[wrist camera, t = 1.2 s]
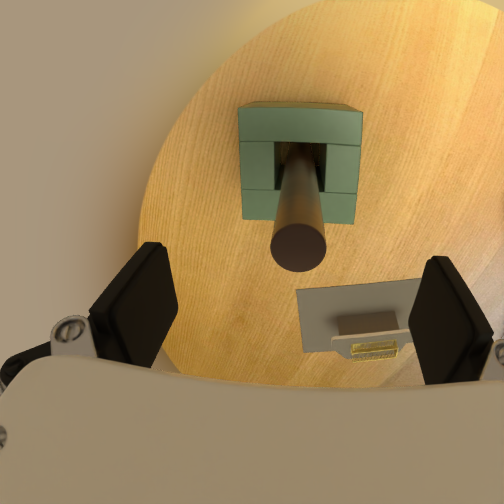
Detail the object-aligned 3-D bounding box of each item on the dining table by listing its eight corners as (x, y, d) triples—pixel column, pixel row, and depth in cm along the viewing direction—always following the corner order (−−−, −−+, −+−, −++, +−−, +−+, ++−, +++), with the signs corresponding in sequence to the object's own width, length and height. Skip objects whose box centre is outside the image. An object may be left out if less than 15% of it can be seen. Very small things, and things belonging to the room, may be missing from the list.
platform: (420, 341, 40) (429, 374, 34) (303, 352, 44) (301, 388, 38) (433, 276, 34) (450, 310, 28) (296, 289, 38) (293, 327, 32)
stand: (253, 101, 27) (237, 107, 20) (346, 104, 26) (363, 111, 19) (255, 187, 32) (242, 219, 25) (342, 191, 30) (353, 224, 24)
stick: (288, 135, 28) (270, 222, 11) (311, 136, 28) (329, 225, 11) (288, 156, 30) (270, 271, 13) (310, 157, 29) (323, 274, 12)
